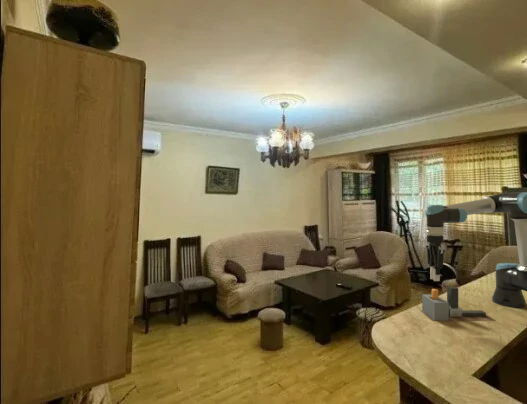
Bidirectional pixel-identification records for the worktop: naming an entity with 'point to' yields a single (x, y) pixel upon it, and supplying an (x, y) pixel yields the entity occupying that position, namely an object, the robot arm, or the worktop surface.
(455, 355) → the worktop surface
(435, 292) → the button
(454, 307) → the carriage
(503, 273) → the robot arm
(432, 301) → the end cabinet
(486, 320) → the base board
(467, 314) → the rail
